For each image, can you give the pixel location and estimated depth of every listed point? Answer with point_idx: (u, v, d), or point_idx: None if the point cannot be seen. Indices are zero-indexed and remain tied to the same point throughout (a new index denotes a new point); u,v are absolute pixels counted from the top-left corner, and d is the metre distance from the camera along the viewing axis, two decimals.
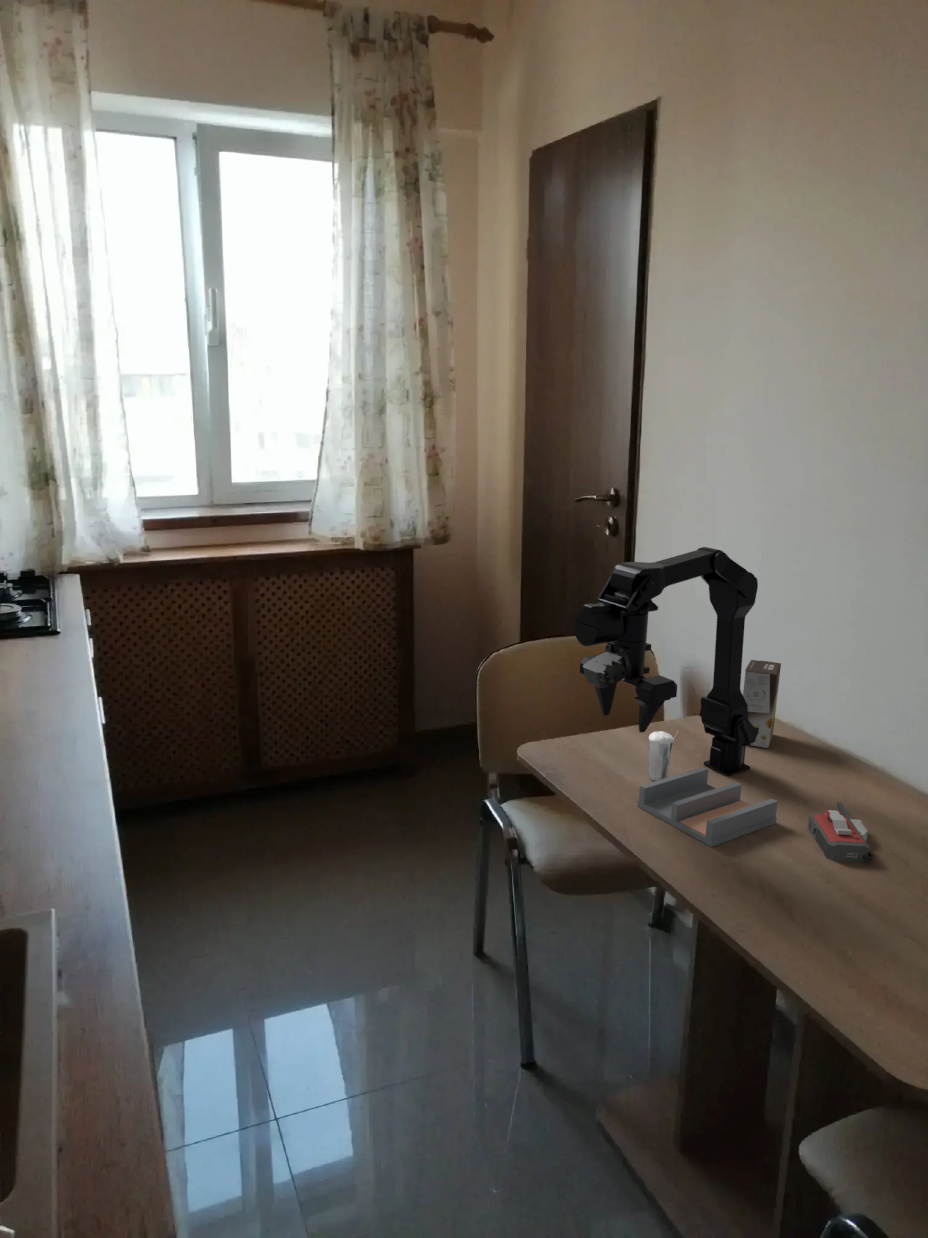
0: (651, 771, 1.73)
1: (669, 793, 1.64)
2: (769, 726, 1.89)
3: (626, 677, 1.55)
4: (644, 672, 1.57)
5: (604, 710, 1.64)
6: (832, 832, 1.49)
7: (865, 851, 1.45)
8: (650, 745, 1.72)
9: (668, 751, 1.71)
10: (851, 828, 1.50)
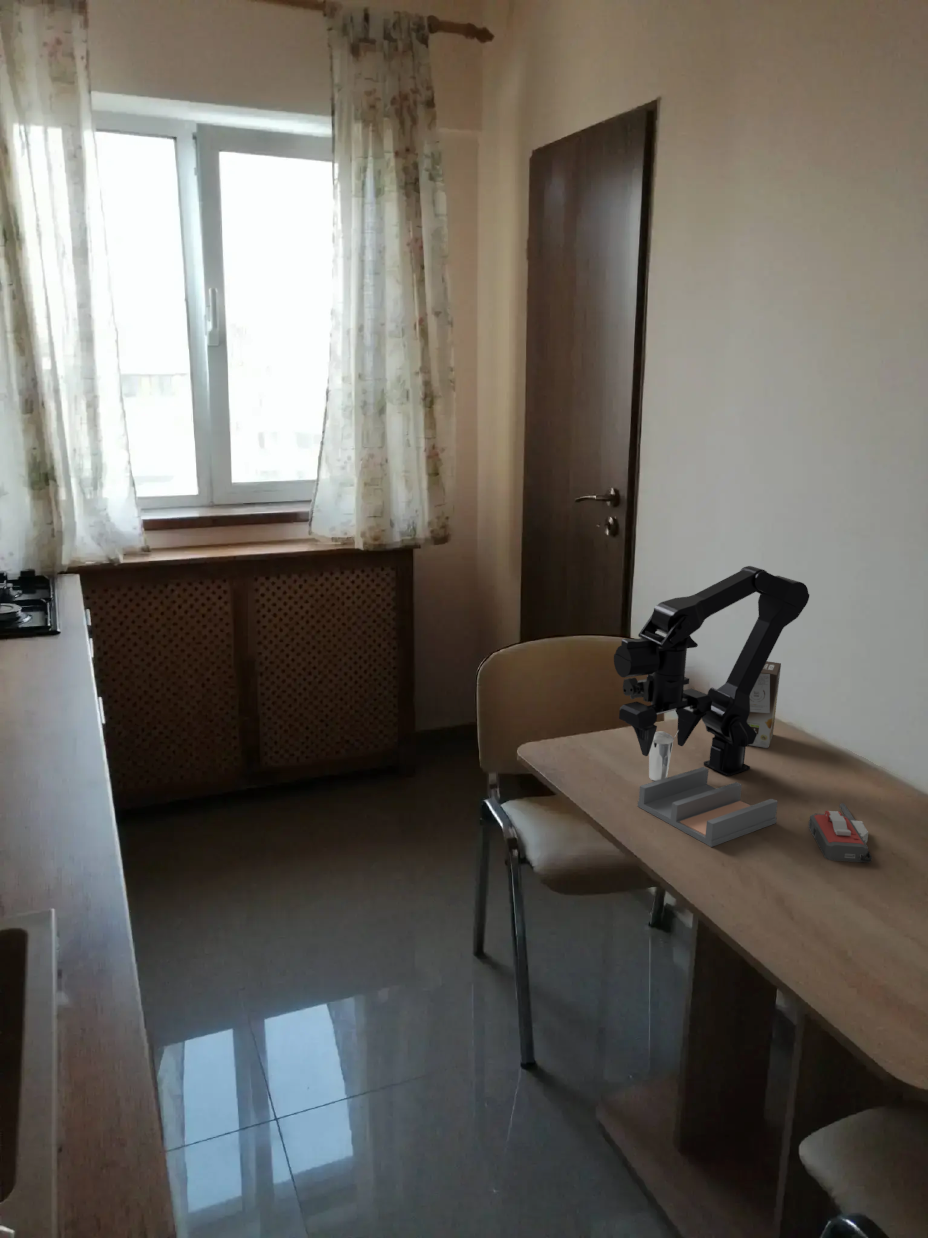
0: (651, 771, 1.73)
1: (669, 793, 1.64)
2: (769, 726, 1.89)
3: (644, 699, 1.71)
4: (663, 706, 1.68)
5: (677, 739, 1.75)
6: (831, 833, 1.49)
7: (863, 851, 1.45)
8: None
9: (667, 751, 1.71)
10: (851, 829, 1.50)
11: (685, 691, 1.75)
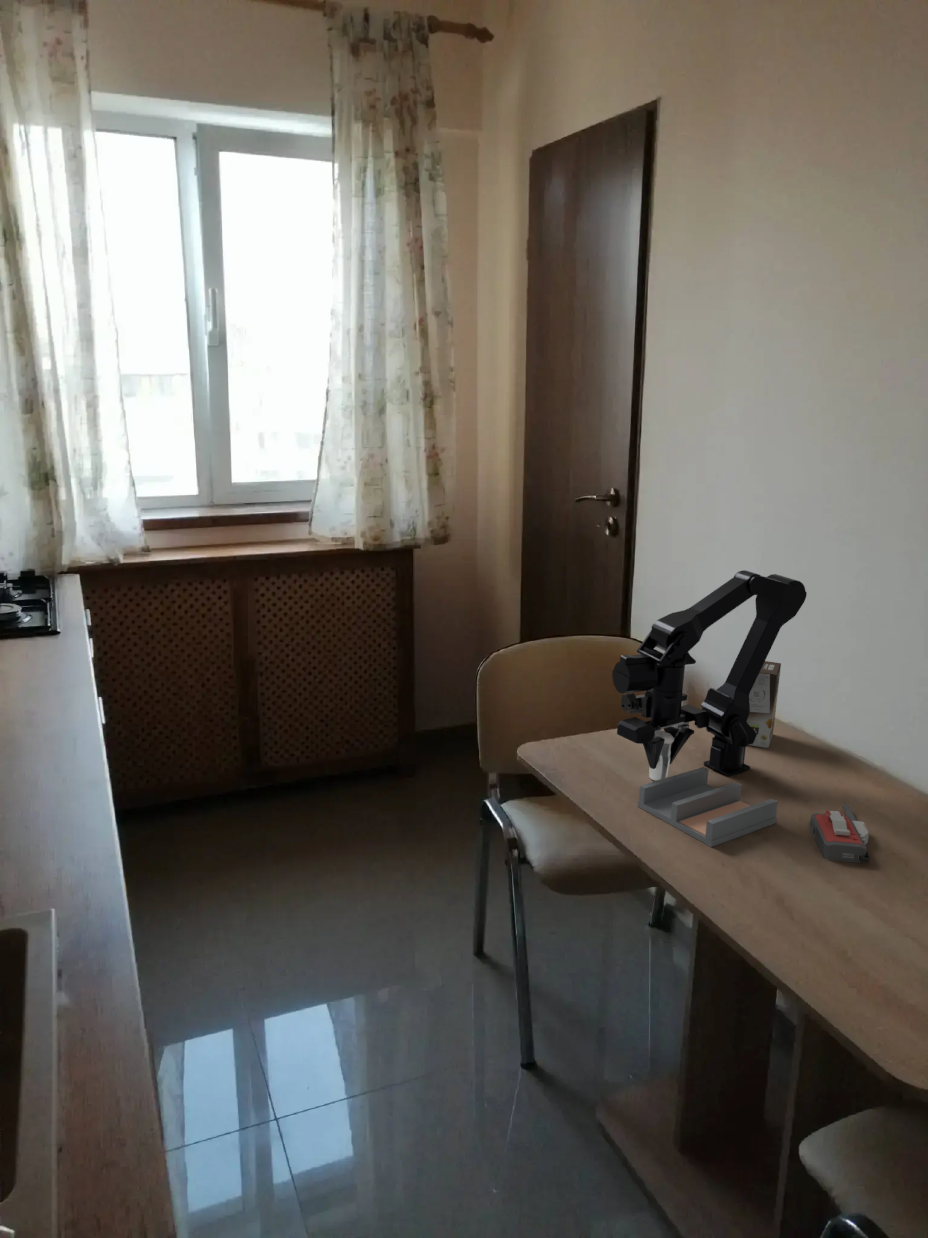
0: (651, 771, 1.73)
1: (669, 793, 1.64)
2: (769, 726, 1.89)
3: (642, 715, 1.72)
4: (661, 722, 1.68)
5: None
6: (830, 832, 1.49)
7: (862, 852, 1.45)
8: None
9: (668, 750, 1.71)
10: (851, 829, 1.50)
11: (683, 707, 1.76)
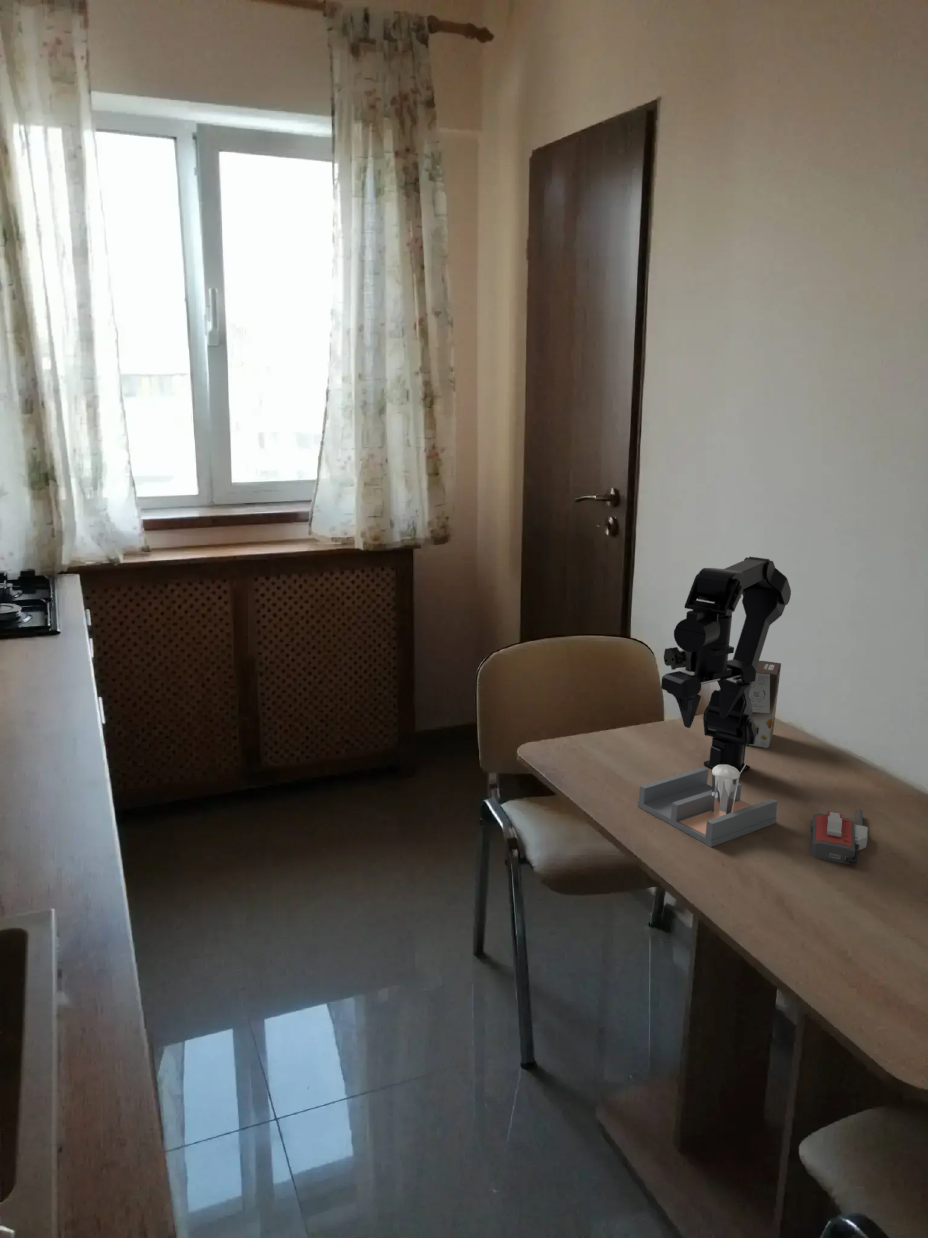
0: (714, 809, 1.56)
1: (669, 793, 1.64)
2: (769, 726, 1.89)
3: (686, 669, 1.65)
4: (707, 675, 1.62)
5: (720, 711, 1.70)
6: (823, 832, 1.49)
7: (849, 853, 1.44)
8: (714, 780, 1.55)
9: (734, 786, 1.54)
10: (847, 832, 1.49)
11: (728, 662, 1.69)
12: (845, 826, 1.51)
